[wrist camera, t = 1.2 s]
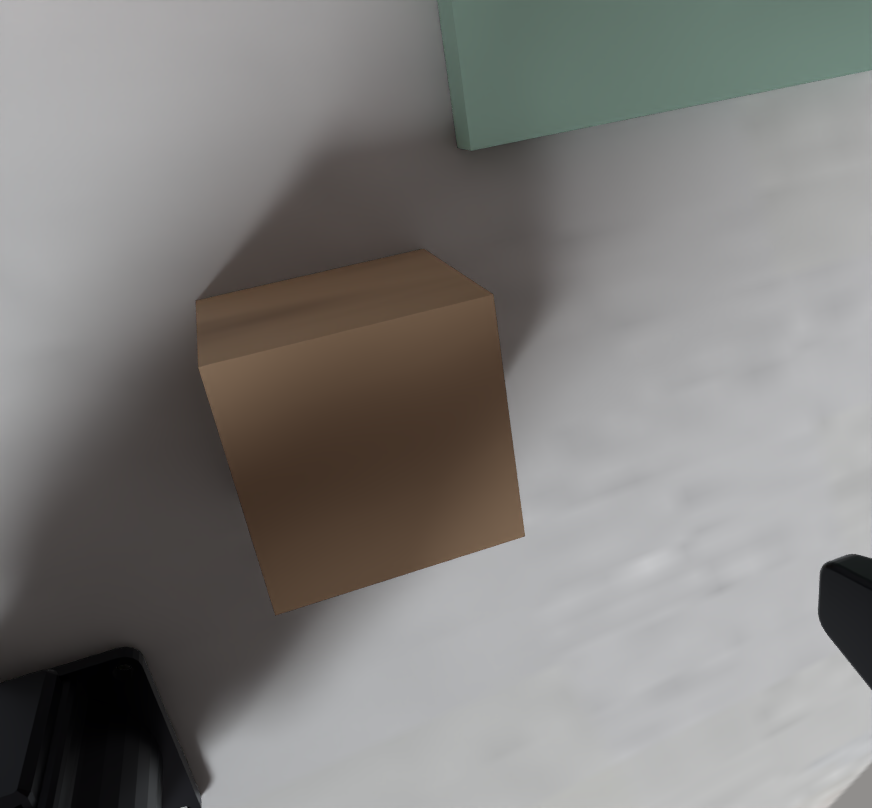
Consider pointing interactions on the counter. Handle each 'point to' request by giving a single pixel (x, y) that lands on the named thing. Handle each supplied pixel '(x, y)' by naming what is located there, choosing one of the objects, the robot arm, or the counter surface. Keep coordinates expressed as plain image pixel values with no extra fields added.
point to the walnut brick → (362, 422)
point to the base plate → (633, 58)
